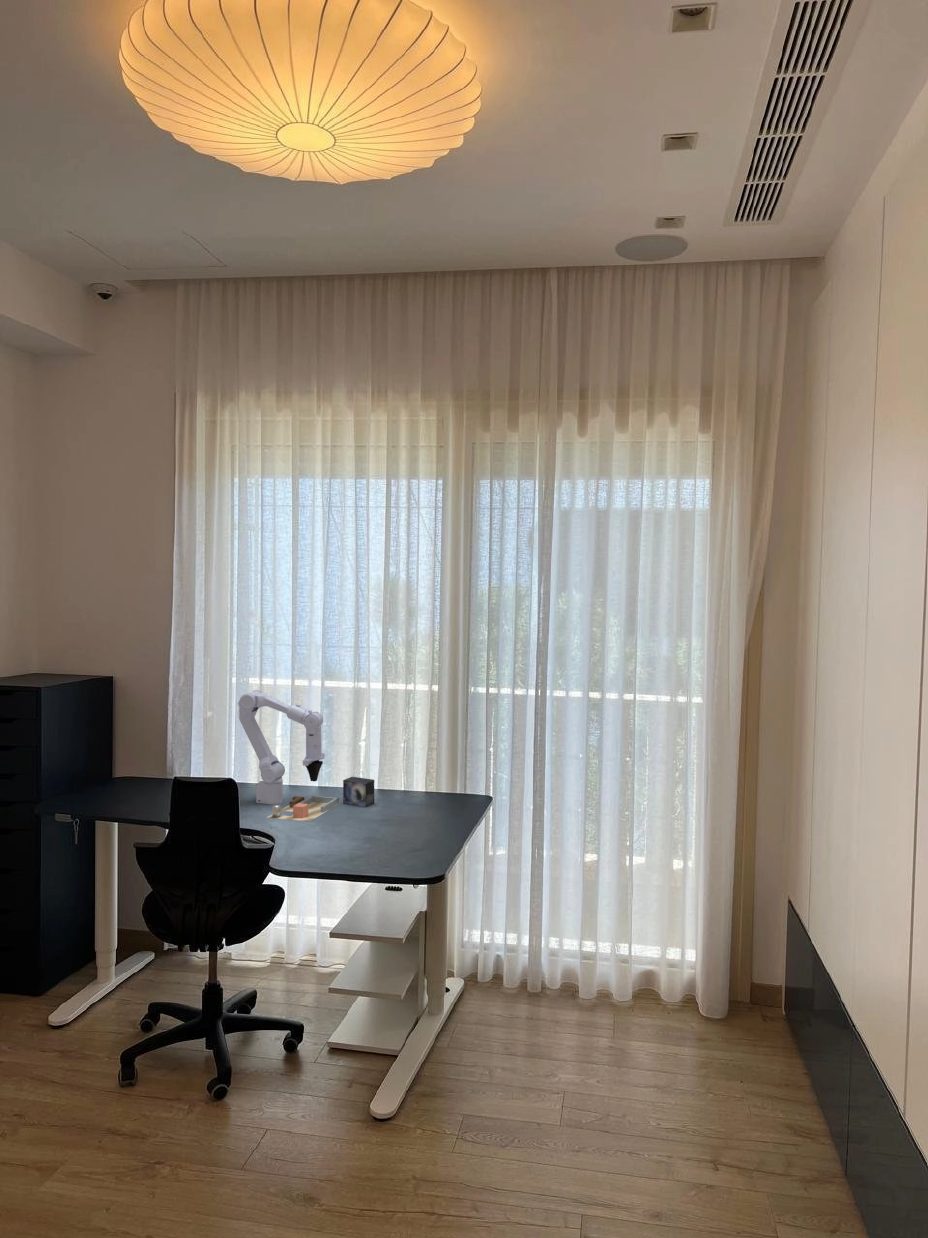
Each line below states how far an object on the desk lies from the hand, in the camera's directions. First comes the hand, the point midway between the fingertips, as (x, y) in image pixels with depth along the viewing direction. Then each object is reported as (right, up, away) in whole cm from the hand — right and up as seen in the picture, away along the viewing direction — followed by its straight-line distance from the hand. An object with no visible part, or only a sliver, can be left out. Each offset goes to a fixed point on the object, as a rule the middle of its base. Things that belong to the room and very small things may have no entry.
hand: (313, 780), depth 338 cm
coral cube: (-2, -10, -17) cm, 19 cm away
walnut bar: (-6, -9, -1) cm, 11 cm away
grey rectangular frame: (+2, -9, -3) cm, 10 cm away
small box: (+17, -10, +1) cm, 20 cm away
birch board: (-2, -10, -8) cm, 13 cm away
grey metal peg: (-10, -10, -17) cm, 22 cm away
